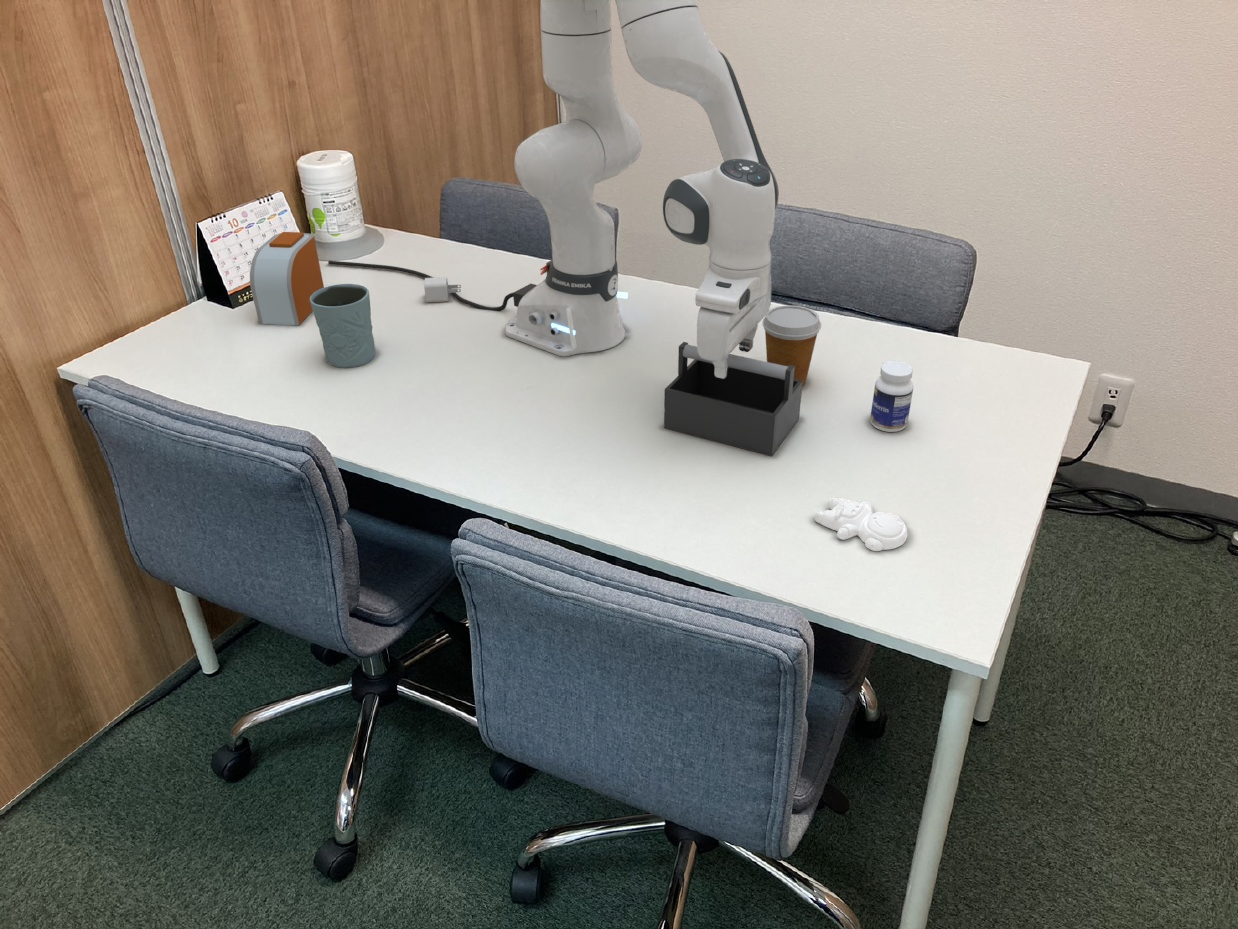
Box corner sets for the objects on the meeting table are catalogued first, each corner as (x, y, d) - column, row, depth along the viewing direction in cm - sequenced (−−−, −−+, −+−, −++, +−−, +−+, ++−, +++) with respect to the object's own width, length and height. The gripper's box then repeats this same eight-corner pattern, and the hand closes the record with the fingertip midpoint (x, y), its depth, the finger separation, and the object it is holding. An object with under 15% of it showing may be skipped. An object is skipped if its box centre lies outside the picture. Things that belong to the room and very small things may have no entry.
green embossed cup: (338, 375, 172) (326, 311, 165) (311, 355, 178) (298, 293, 171) (390, 356, 177) (379, 294, 170) (362, 338, 184) (351, 277, 177)
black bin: (663, 428, 155) (664, 360, 149) (695, 394, 164) (697, 328, 157) (772, 456, 148) (778, 386, 141) (799, 419, 157) (806, 351, 150)
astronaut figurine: (840, 496, 139) (842, 479, 137) (918, 530, 132) (921, 512, 131) (806, 525, 134) (808, 507, 132) (885, 562, 127) (888, 543, 125)
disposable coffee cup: (814, 397, 163) (821, 331, 156) (756, 392, 164) (760, 326, 158) (816, 370, 170) (823, 306, 164) (760, 365, 172) (765, 302, 165)
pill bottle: (862, 419, 157) (870, 363, 151) (892, 411, 158) (901, 355, 153) (884, 436, 152) (893, 379, 147) (914, 428, 154) (924, 371, 149)
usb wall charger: (427, 295, 199) (425, 276, 197) (461, 293, 200) (459, 274, 198) (426, 303, 196) (423, 284, 194) (461, 301, 197) (459, 282, 194)
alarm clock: (289, 292, 202) (275, 228, 194) (329, 293, 201) (316, 229, 193) (257, 323, 190) (241, 256, 182) (299, 325, 189) (285, 258, 181)
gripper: (745, 249, 151) (740, 331, 159) (689, 299, 136) (687, 386, 144) (785, 256, 149) (777, 339, 157) (732, 308, 134) (727, 396, 142)
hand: (733, 362), depth 150 cm, fingers open, 8 cm apart
